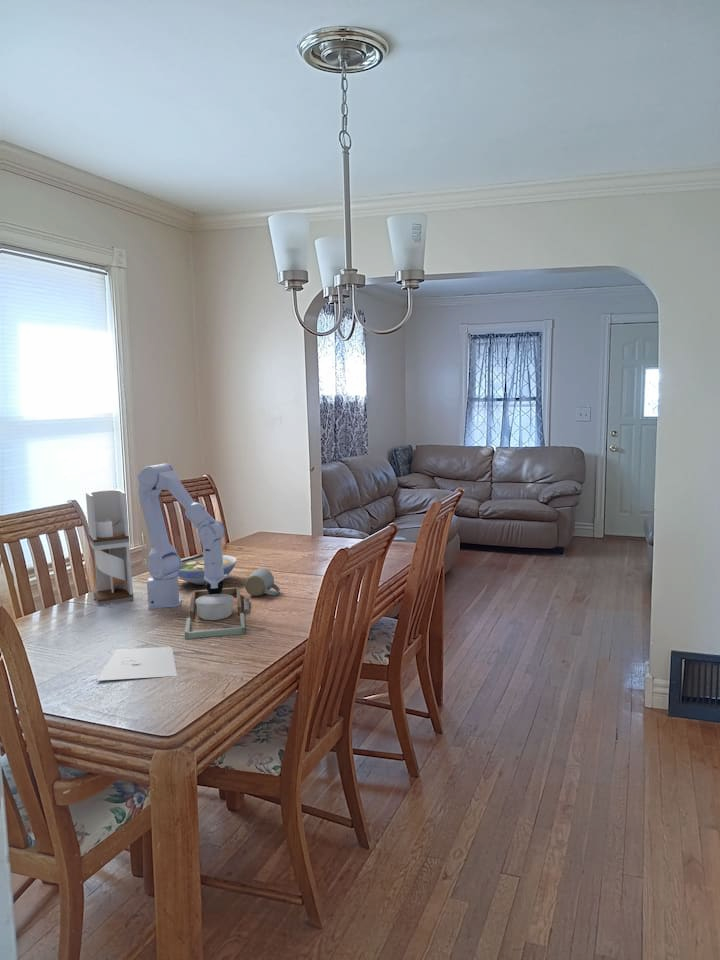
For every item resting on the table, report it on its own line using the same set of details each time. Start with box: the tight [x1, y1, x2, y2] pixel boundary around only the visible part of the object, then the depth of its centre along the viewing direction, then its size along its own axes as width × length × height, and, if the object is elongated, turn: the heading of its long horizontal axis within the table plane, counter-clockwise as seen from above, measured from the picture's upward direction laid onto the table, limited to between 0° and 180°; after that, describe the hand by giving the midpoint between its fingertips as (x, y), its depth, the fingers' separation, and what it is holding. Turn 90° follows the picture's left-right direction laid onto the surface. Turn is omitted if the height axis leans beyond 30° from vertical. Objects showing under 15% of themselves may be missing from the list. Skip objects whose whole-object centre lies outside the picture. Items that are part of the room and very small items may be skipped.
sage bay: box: [184, 612, 246, 640], centre depth 202 cm, size 16×14×2 cm
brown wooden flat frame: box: [188, 586, 243, 620], centre depth 223 cm, size 15×23×2 cm, turn 11°
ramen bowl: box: [178, 553, 238, 586], centre depth 252 cm, size 25×23×8 cm
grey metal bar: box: [243, 597, 250, 614], centre depth 221 cm, size 1×12×1 cm, turn 9°
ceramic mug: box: [244, 567, 281, 597], centre depth 235 cm, size 11×8×8 cm
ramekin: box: [195, 594, 235, 621], centre depth 213 cm, size 11×11×5 cm
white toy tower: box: [85, 488, 134, 606], centre depth 233 cm, size 11×11×35 cm
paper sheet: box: [96, 646, 178, 682], centre depth 177 cm, size 24×29×1 cm
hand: (215, 605), depth 220 cm, fingers closed
